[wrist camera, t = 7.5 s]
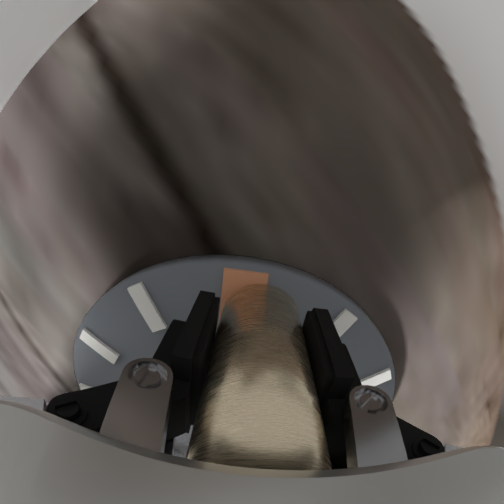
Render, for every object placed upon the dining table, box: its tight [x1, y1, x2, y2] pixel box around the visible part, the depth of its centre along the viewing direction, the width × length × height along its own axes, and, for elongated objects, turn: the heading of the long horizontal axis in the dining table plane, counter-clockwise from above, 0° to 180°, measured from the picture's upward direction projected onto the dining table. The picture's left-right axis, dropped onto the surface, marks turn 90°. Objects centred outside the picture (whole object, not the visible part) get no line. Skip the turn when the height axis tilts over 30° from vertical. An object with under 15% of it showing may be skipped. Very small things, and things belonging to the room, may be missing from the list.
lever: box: [174, 284, 332, 470], centre depth 9 cm, size 13×6×8 cm, turn 167°
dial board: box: [73, 255, 395, 401], centre depth 15 cm, size 20×20×1 cm
